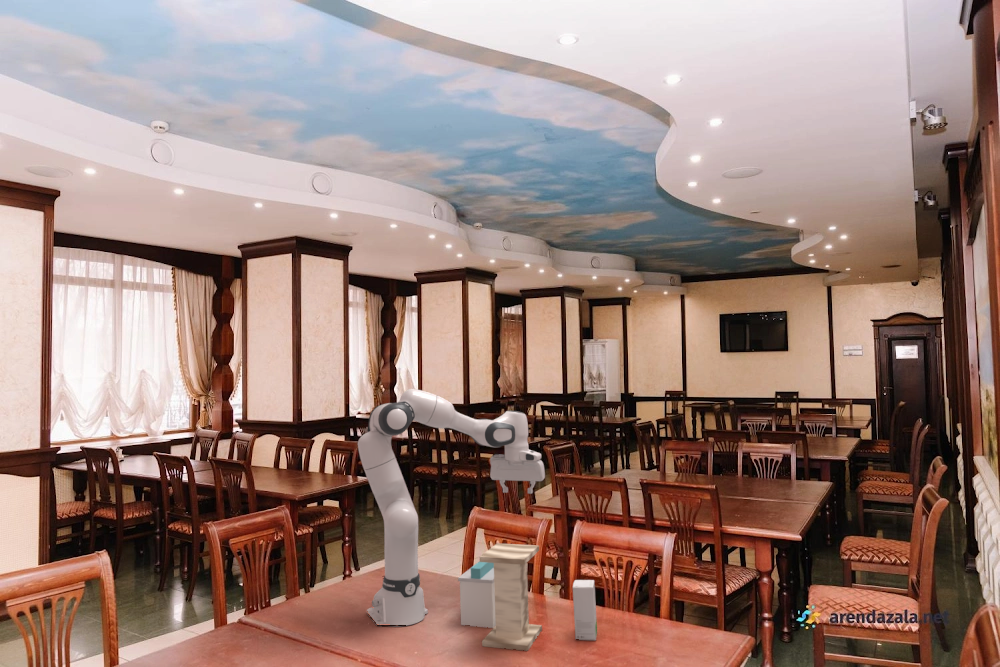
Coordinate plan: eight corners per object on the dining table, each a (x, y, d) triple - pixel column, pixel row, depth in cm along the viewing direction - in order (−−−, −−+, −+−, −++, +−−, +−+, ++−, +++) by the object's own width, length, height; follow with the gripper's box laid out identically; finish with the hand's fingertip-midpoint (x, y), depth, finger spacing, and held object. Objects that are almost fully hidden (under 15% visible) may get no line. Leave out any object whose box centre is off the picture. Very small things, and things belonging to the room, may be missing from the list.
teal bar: (495, 557, 236) (495, 548, 236) (503, 558, 235) (503, 549, 235) (471, 578, 213) (470, 568, 213) (480, 578, 212) (480, 568, 212)
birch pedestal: (499, 626, 211) (496, 543, 213) (542, 630, 207) (538, 545, 208) (482, 646, 196) (479, 556, 198) (527, 650, 192) (524, 559, 193)
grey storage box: (477, 607, 229) (476, 563, 230) (510, 610, 225) (508, 565, 226) (459, 625, 213) (458, 577, 214) (493, 628, 209) (492, 580, 210)
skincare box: (595, 641, 197) (593, 587, 198) (573, 640, 198) (571, 587, 199) (597, 630, 205) (595, 579, 206) (576, 629, 206) (574, 578, 207)
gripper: (487, 455, 244) (488, 493, 243) (541, 456, 237) (542, 495, 236) (492, 453, 250) (493, 490, 249) (545, 454, 243) (546, 492, 242)
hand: (517, 492), depth 243 cm, fingers open, 8 cm apart
